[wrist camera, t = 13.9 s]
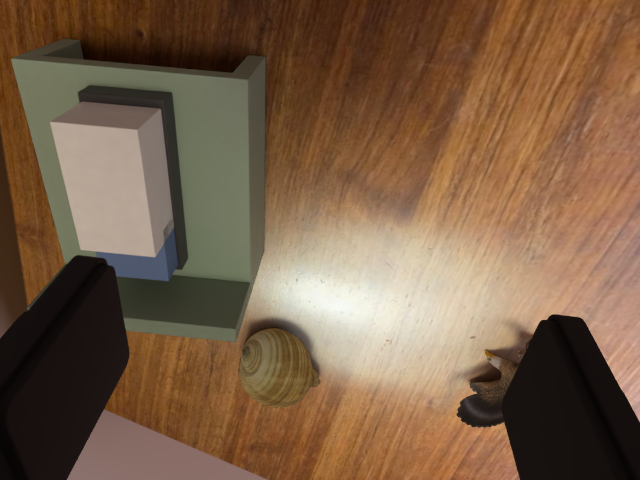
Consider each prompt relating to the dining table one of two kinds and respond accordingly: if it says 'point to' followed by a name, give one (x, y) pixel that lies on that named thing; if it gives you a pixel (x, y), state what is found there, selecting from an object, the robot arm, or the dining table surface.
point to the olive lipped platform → (196, 181)
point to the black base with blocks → (124, 179)
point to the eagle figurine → (489, 395)
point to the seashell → (276, 368)
